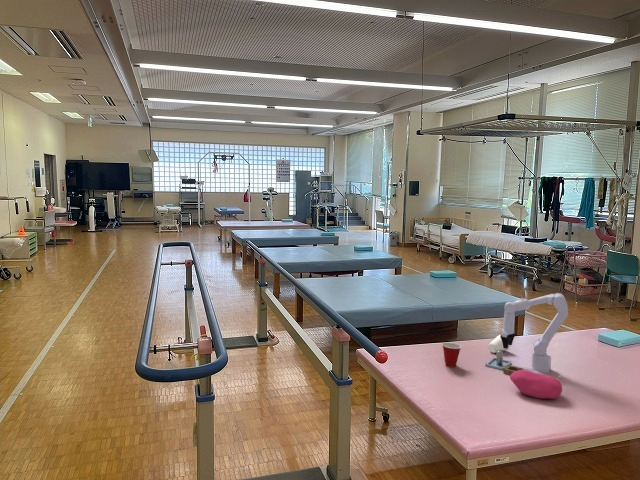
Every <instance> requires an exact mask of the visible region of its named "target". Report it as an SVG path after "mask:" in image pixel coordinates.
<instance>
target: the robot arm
mask: <svg viewBox="0 0 640 480" xmlns="http://www.w3.org/2000/svg"><path fill="white" fill-rule="evenodd" d="M542 304H547V305H550V306H552V305H553V306H554V307H555V308H556V312H557V313H556V314H555V316H554V317H553V319H552V320H551V322H550V323H549V325H548V326H547V328H546V329H545V331H544V332H543V334H542V335H541V336H539V338H538V339H536V340H534V342H533V350H532V353H531V365H530V367H528V369H529V370H532V371H537V372H541V373H546V374H548V373H549V372H550V371H551V367H552V356H551V355H549V354H548V353H547V349H548V347H549V344H550V342H551V341H552V339H553V338H554V336H555V335H556V333H557V332H558V330H559V329H560V327H561V326H562V324H563V323H564V322H565V320H566V319H567V318H568V316H569V308H568V302H567V299H566V298H565V296H564V294H562V293H560V292H559V293H558V292H556V293H550V294H547V295H543V296H539V297H535V298H532V299H527V298H524V297H521V298H520V299H518V300H512V301H507V302H506V303H505V304H504V307H503V309H504V311H503V313H504V314H503V325H502V329H500V331H501V332H502V334H500V335H501V336H500V338H501V340H502V343H503V348H505V349H508V346H509V345H510V346H512V345H513V342H514V339H515V337H516V335H517V333H516V332H515V324H516V323H515V322H516V320H515V319H516V316H515V312H520V311H525V310H529V309H530V307H531V306H536V305H542ZM508 350H509V349H508Z"/></svg>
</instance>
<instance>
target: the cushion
mask: <svg viewBox="0 0 640 480" xmlns="http://www.w3.org/2000/svg"><path fill="white" fill-rule="evenodd" d="M509 379H510V381H511V382H512V383H513V385H514V386H515V387H516V388H517V390H518V391H520V392H521V393H522V394H523V395H526V396H529V397H532V398H536V399H552V400H554V399H558V398H559V397H560V396H561V394H562V392H563V387H562V383H561V381H560V379H559V378H557V377H553V376H549V375H546V374H543V373H538V372H532V371H529V370H525V369H523V370H518V371H515V372H513V373H512V374H511V375H509Z"/></svg>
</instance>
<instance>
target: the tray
mask: <svg viewBox="0 0 640 480" xmlns="http://www.w3.org/2000/svg"><path fill="white" fill-rule="evenodd" d="M507 365H512V360H511V361H510V360H506V359H503V365H502V366H498V365H496V357H492V358H491V359H490V360H488V362H486V363H485V367H488V368H492V369H496V370H498V371H499V370H500V371H503V370H504V368H505V367H506V366H507Z"/></svg>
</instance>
